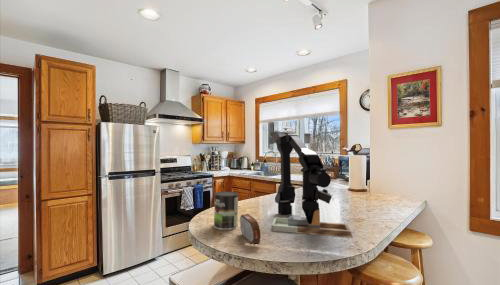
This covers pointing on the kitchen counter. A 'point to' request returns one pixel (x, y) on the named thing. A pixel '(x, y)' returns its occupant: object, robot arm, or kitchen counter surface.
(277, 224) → the tray
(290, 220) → the chip
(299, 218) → the chip
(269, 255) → the kitchen counter surface
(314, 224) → the rake block
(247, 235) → the grey and brown slab
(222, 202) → the coffee can
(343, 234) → the channel board
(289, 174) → the robot arm
